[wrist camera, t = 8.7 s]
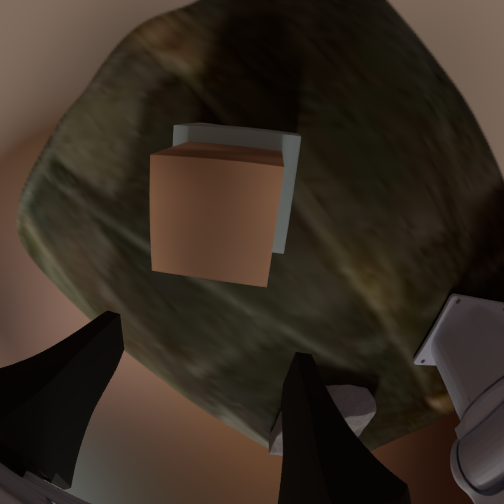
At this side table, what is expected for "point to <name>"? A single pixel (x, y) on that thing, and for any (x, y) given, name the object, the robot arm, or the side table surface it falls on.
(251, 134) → the top block
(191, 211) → the terracotta cube
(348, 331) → the side table surface
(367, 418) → the stone block
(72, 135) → the side table surface
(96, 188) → the side table surface
